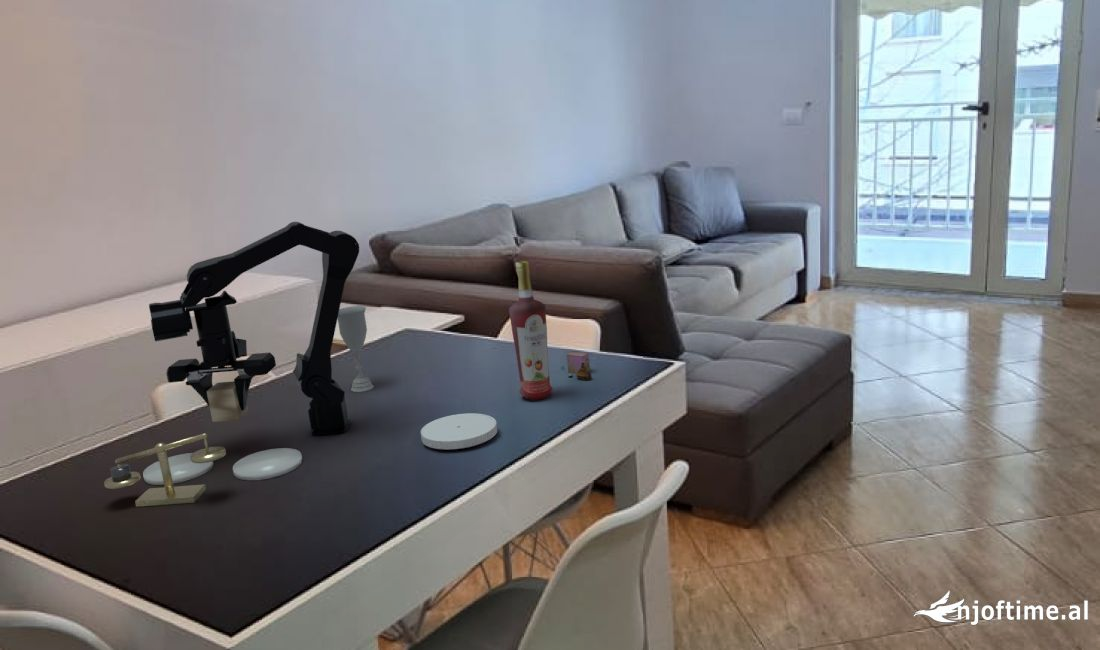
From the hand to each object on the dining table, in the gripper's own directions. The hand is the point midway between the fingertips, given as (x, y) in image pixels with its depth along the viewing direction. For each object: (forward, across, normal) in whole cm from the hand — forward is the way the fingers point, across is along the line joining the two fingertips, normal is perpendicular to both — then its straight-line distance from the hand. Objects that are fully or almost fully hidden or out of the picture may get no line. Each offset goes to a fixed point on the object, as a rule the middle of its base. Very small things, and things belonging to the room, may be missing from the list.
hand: (229, 410), depth 174 cm
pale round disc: (+8, +8, +8) cm, 14 cm away
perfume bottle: (+9, -67, -31) cm, 74 cm away
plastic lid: (+9, -43, +2) cm, 44 cm away
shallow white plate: (+8, -9, +9) cm, 15 cm away
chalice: (+8, -16, -33) cm, 38 cm away
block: (+1, 0, 0) cm, 1 cm away
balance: (+8, +4, +20) cm, 22 cm away
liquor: (+8, -56, -18) cm, 59 cm away
